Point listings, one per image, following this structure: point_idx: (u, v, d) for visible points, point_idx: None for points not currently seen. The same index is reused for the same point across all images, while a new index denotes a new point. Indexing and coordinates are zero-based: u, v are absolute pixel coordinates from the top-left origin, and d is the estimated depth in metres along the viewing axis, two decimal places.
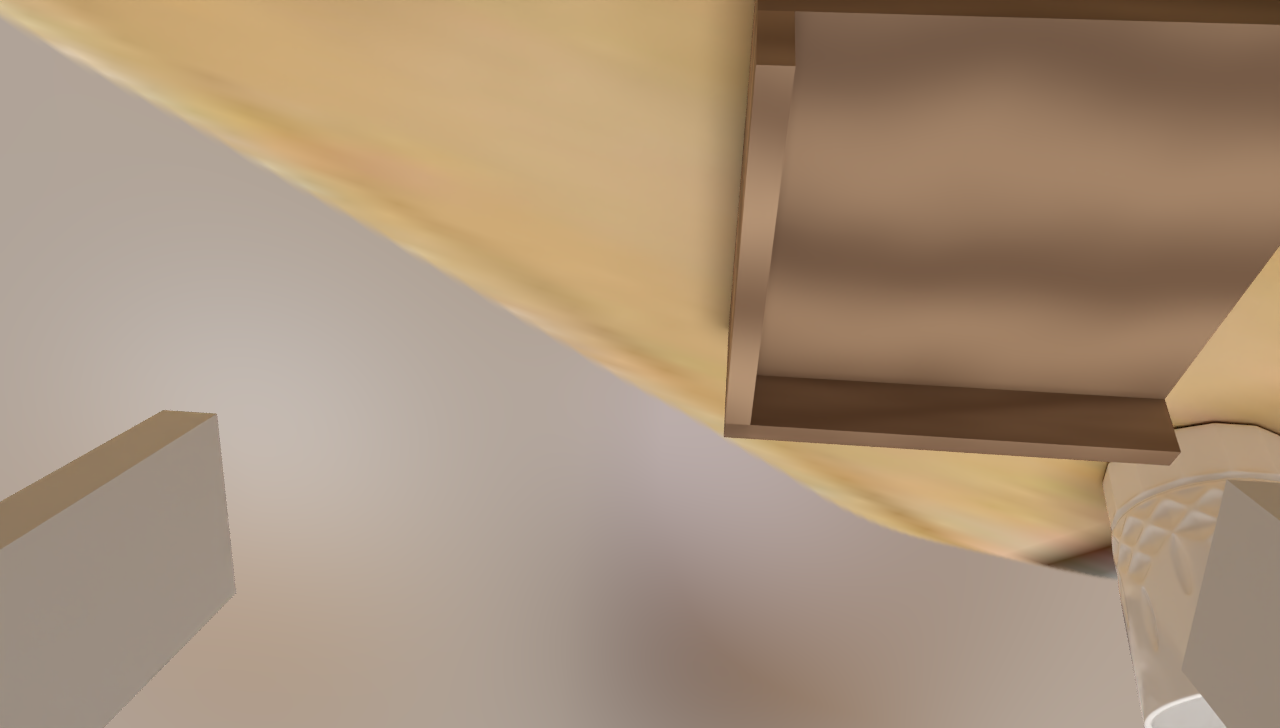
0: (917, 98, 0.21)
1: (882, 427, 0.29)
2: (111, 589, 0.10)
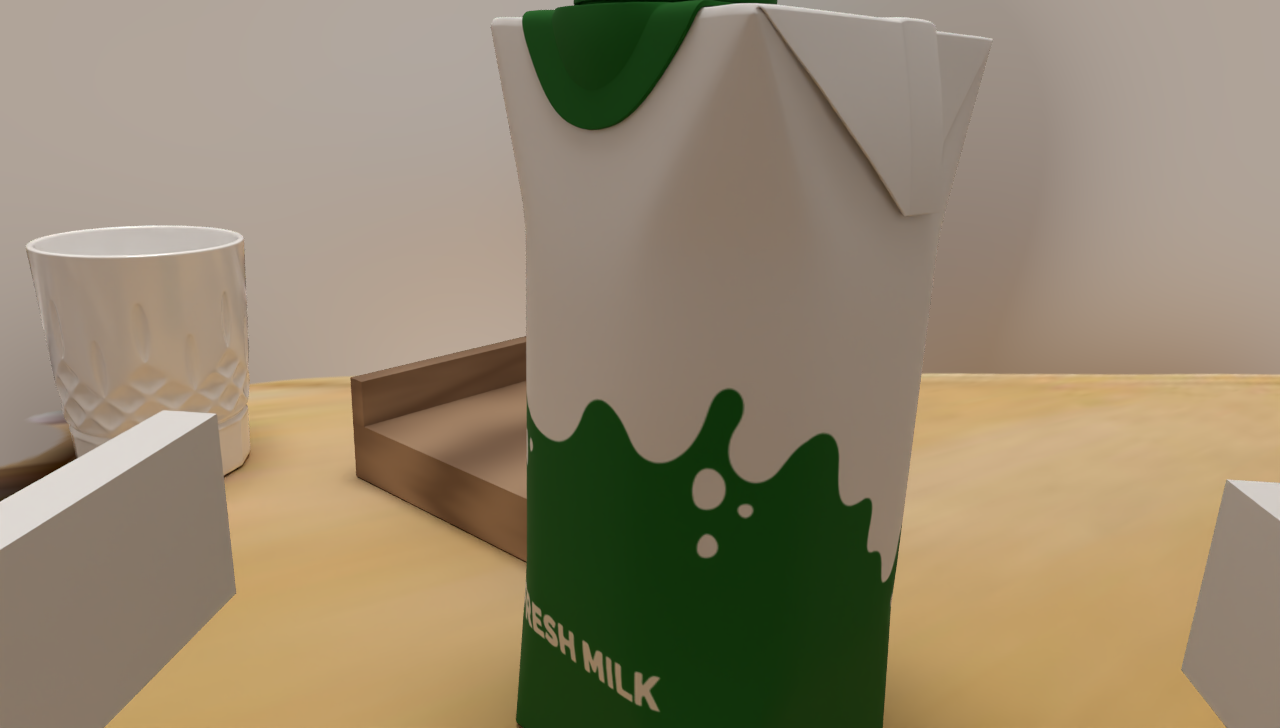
0: None
1: (522, 346, 0.45)
2: (111, 589, 0.10)
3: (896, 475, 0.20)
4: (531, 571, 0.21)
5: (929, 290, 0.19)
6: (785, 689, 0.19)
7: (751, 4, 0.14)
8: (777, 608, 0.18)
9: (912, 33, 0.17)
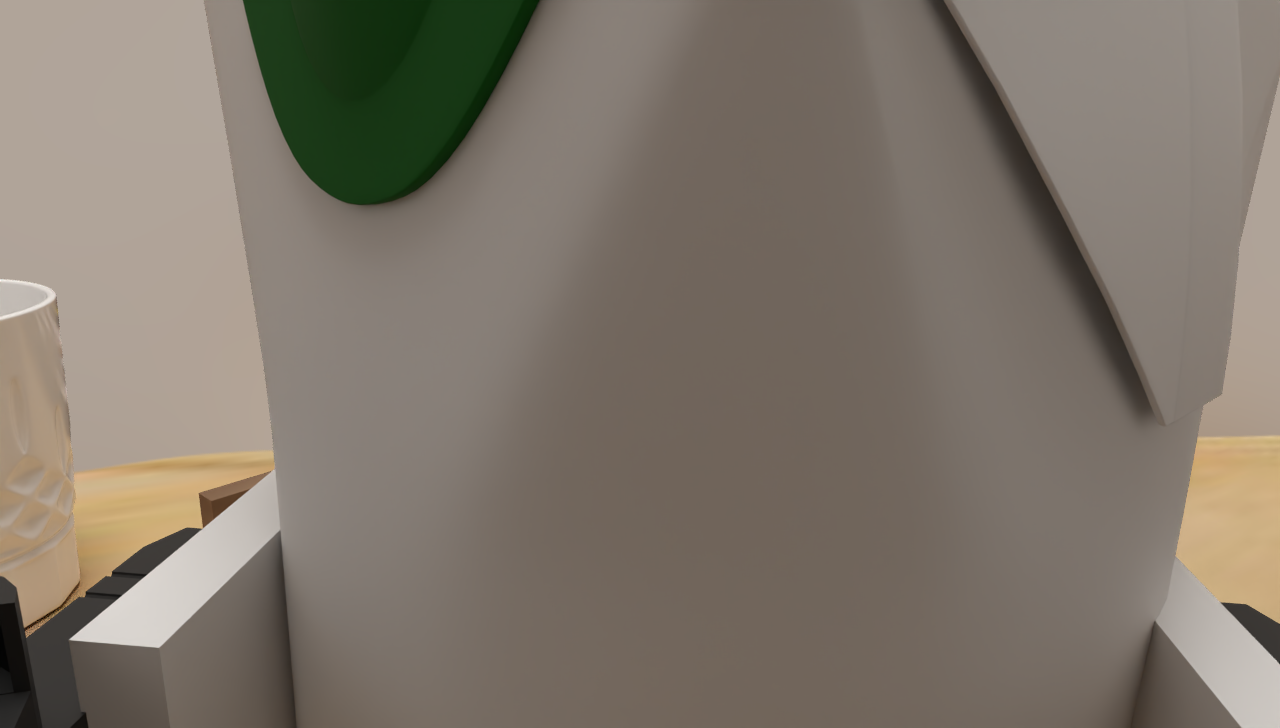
0: None
1: None
2: None
3: None
4: None
5: (1173, 560, 0.08)
6: None
7: None
8: None
9: None
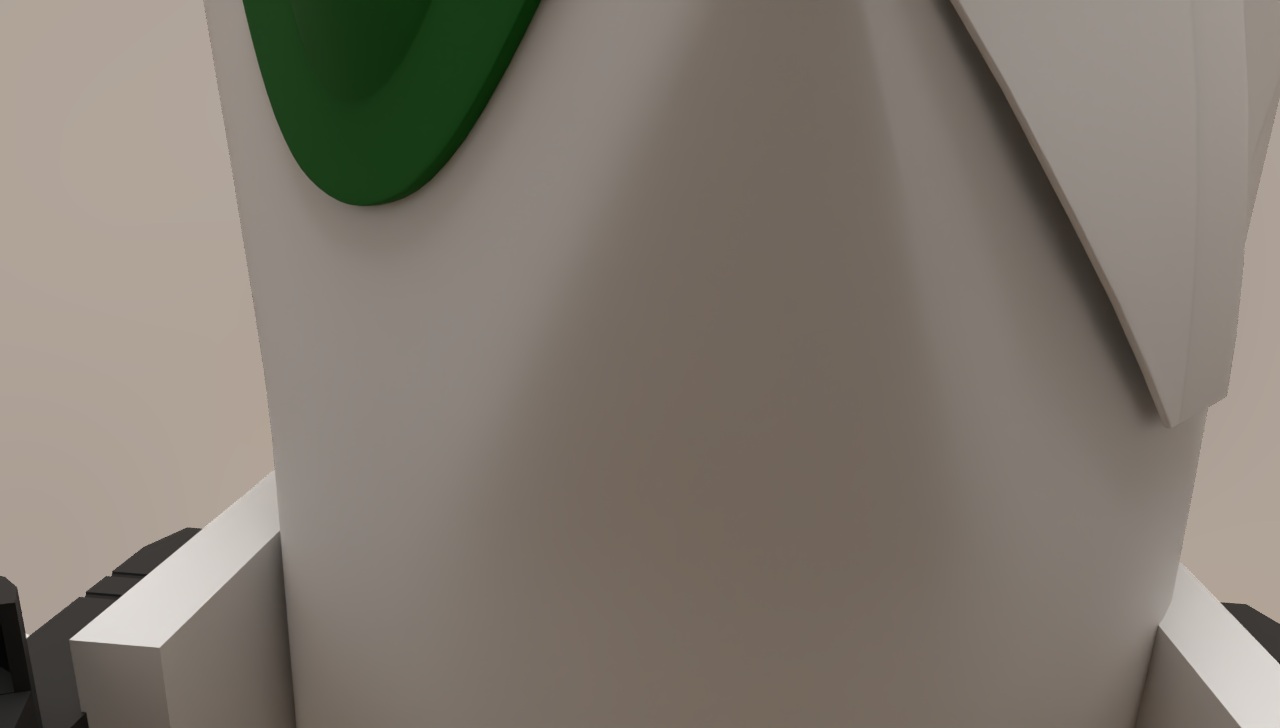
0: None
1: None
2: None
3: None
4: None
5: (1178, 563, 0.08)
6: None
7: None
8: None
9: None
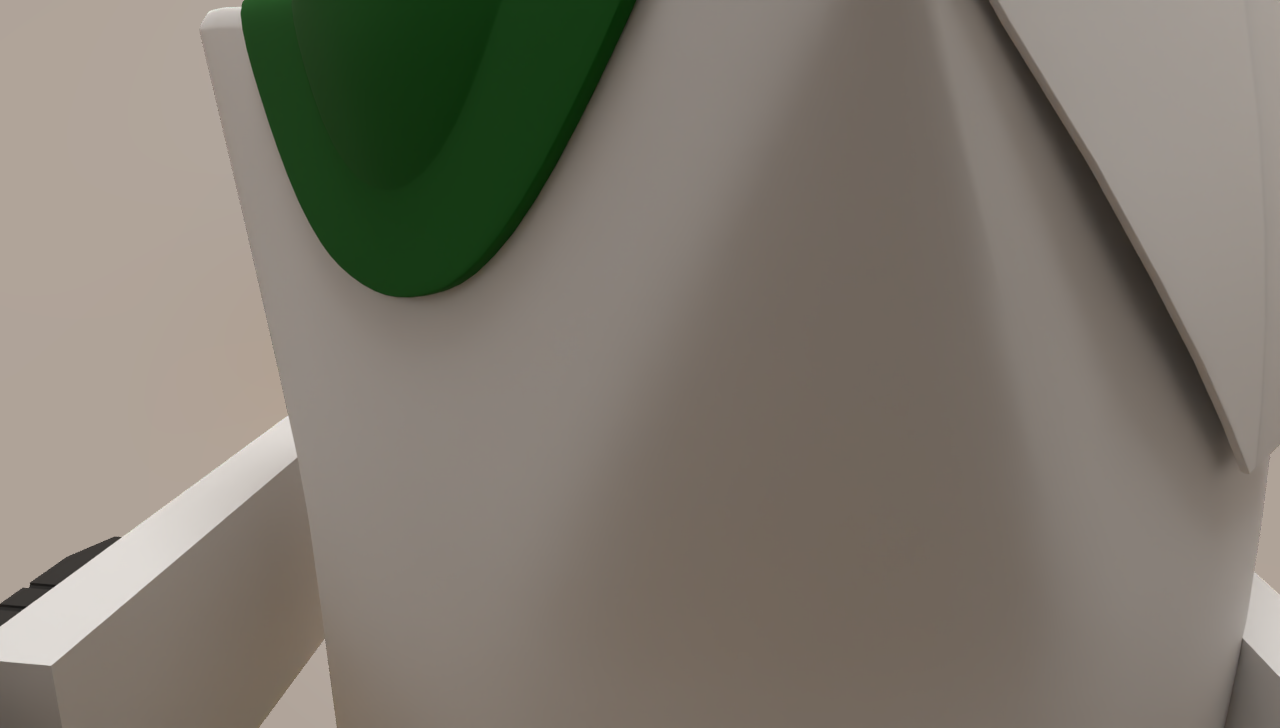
0: None
1: None
2: (303, 551, 0.11)
3: None
4: None
5: (1249, 597, 0.08)
6: None
7: None
8: None
9: None
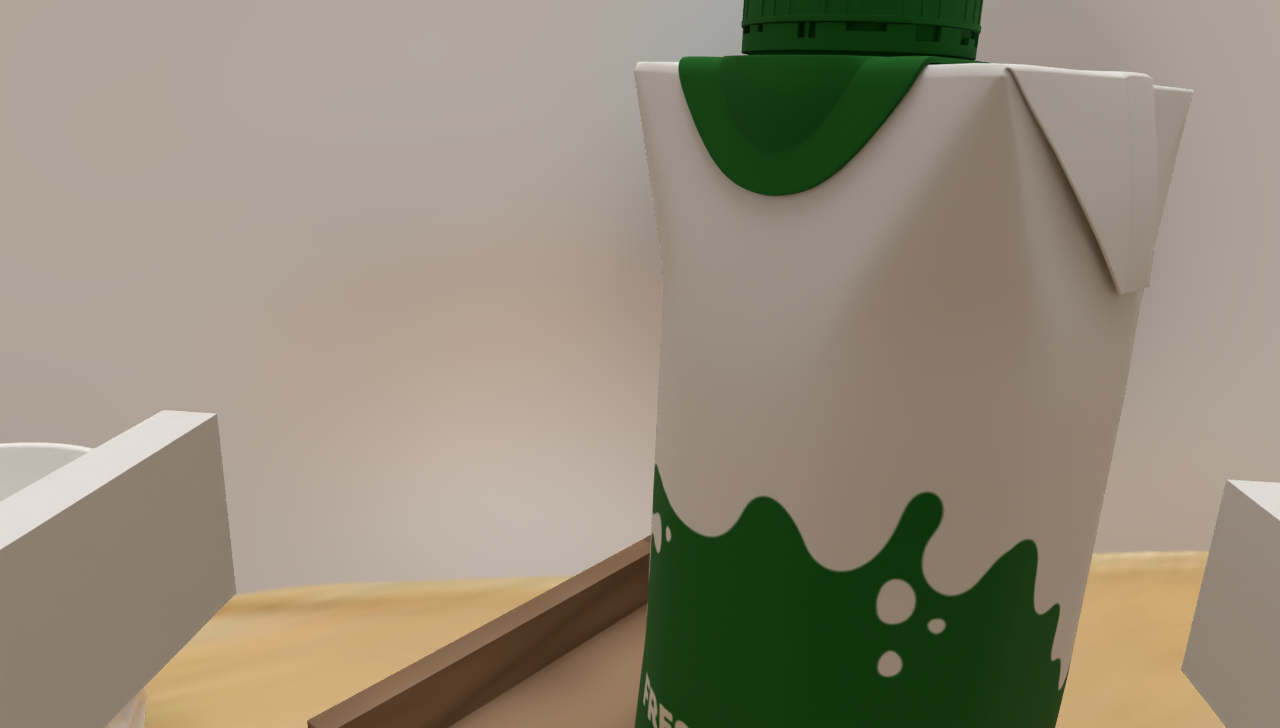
0: None
1: (577, 599, 0.29)
2: (111, 589, 0.10)
3: (1082, 574, 0.18)
4: (660, 670, 0.19)
5: (1128, 372, 0.17)
6: None
7: (997, 65, 0.12)
8: None
9: (1135, 90, 0.15)
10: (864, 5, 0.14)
